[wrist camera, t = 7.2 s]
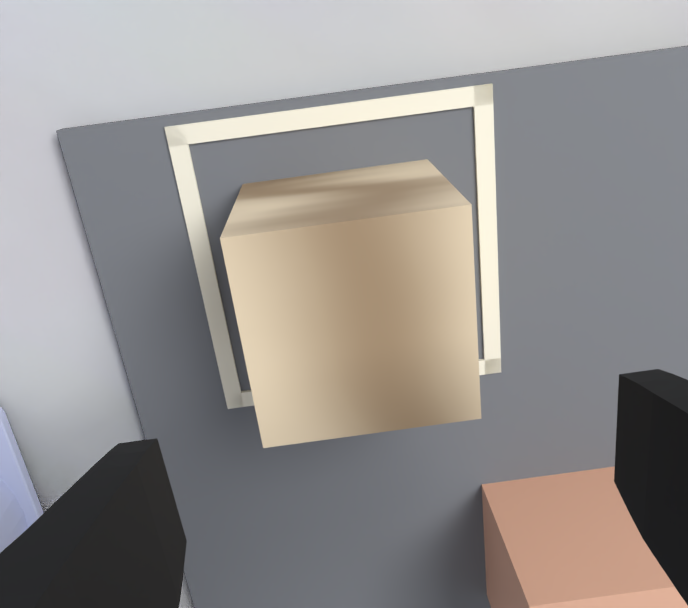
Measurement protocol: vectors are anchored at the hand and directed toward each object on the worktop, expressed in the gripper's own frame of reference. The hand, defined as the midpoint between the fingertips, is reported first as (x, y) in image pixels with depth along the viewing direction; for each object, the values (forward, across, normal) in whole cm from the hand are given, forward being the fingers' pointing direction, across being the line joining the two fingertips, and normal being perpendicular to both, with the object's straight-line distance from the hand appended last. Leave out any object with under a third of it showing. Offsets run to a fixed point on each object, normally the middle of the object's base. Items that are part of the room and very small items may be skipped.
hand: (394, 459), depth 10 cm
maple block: (+9, 0, 0) cm, 9 cm away
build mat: (+9, -2, +5) cm, 11 cm away
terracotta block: (+9, -6, +11) cm, 15 cm away
